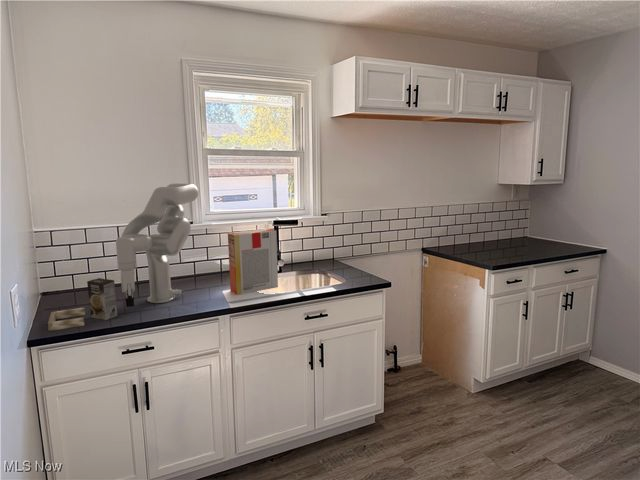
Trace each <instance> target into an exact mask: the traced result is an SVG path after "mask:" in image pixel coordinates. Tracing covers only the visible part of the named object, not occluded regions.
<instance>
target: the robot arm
mask: <svg viewBox="0 0 640 480" xmlns="http://www.w3.org/2000/svg"><path fill="white" fill-rule="evenodd" d="M198 196H199V188H198V187H197V185H196V184H193V183H170V184H168V185H167V186H159V187H157V188H155V189H154V190H153V192H152V194H151V196H150V198H149V200H148V202H147V204H146V205H145V208H144V210H143V211H142V212H141V213H140V214H138V215H137V216H136V217H134V218H133V219H132V220H131V221H130V222H129V223H128V224H127V225H126V227H125V228H124V230H123V232H122V234H121V236H119V237H117V238H116V239H115V249H116V261H117V271H120V284H121V291H122V292H121V293H123V294H125V307H126V308H132V307H134V306H135V298H134V292H135V290H136V286H135V270H136V269H138V268H137V266H138V265H137V254H136V253H139V252H140V253H141V252H145V254H146V259H147V268H148V281H149V293H150V295H149V296H148V297H147V298H146V299H147V302H149V303H150V304H151V303H152V304H163V303H164V304H165V303H168V302H171V301H173V300H175V298H176V295H181V294H182V289H178V288H176V289H173V288H172V283H171V282H172V281H171V270H170V260H169V258H168V256H170V257H174V256H177V255H178V254H179V253H180V252H181V250H182V249H183V247H184V246H185V243H186V241H187V240H188V237H189V236H190V233H191V228H192V227H191V223H190V221H189V220H188V218H185V217H184V215H185V209H184V207H183V205H184V204H188V203H192V202H194V201H196V199H197V198H198ZM155 224H157V226H156V231H157V233H158V234H157V233H156V234H155V233H154V234H149V235H148V234H142V233H140V232H141V231H143V230H145V228H148V227H150V226H153V225H155Z"/></svg>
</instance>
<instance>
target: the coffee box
mask: <svg viewBox="0 0 640 480" xmlns="http://www.w3.org/2000/svg"><path fill="white" fill-rule="evenodd" d="M86 283H87V291H88V293H87V294H88V302H89V310H90V311H89V312H90V318H93V319H98V320H104V321H107V320H111V319H112V318H115V317H118V309H117V298H116V297H117V296H116V295H117V294H116V284H115V280H114V279H108V278H100V277H99V278H95V279H90V280H88V281H87V282H86Z"/></svg>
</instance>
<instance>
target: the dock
mask: <svg viewBox="0 0 640 480" xmlns="http://www.w3.org/2000/svg"><path fill="white" fill-rule="evenodd" d="M85 315H86V310H85V307H79V308H71V309H63V310H58V311H57V310H56V311H51V312H50V316H49V317H48V318H49V319H48V322H47V327H48V332H50V331H51V332H52V331H57V330H58V331H59V330H64V329H71V328H76V327H82V326H83V327H84V326H85V318H84V316H85ZM80 316H81V317H80ZM82 316H83V317H82ZM73 317H76V318H73ZM77 317H78V318H77ZM66 318H67V319H66ZM68 318H71V319H68ZM59 319H63V320H59ZM56 320H57V321H56Z"/></svg>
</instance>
